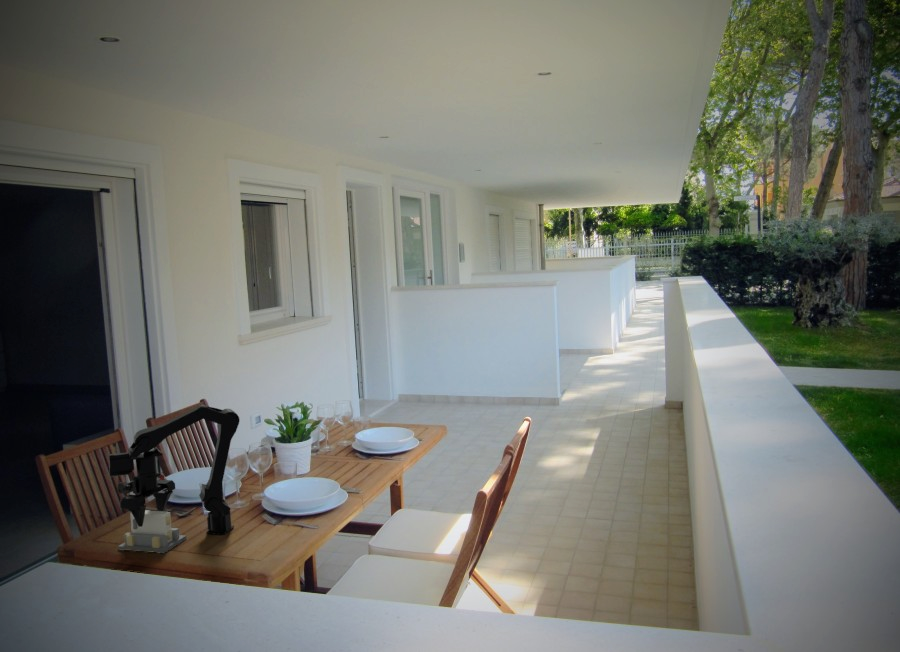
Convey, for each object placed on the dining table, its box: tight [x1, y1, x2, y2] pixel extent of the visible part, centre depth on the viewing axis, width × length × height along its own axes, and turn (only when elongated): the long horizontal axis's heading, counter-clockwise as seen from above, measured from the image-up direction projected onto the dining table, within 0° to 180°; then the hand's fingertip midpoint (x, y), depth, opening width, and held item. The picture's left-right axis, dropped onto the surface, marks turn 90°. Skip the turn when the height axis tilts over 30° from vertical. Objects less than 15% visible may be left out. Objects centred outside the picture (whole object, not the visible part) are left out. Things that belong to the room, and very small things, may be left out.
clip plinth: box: [117, 527, 187, 554], centre depth 215 cm, size 16×11×4 cm
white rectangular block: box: [129, 509, 173, 543], centre depth 215 cm, size 13×4×9 cm, turn 76°
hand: (150, 520), depth 215 cm, fingers open, 9 cm apart
